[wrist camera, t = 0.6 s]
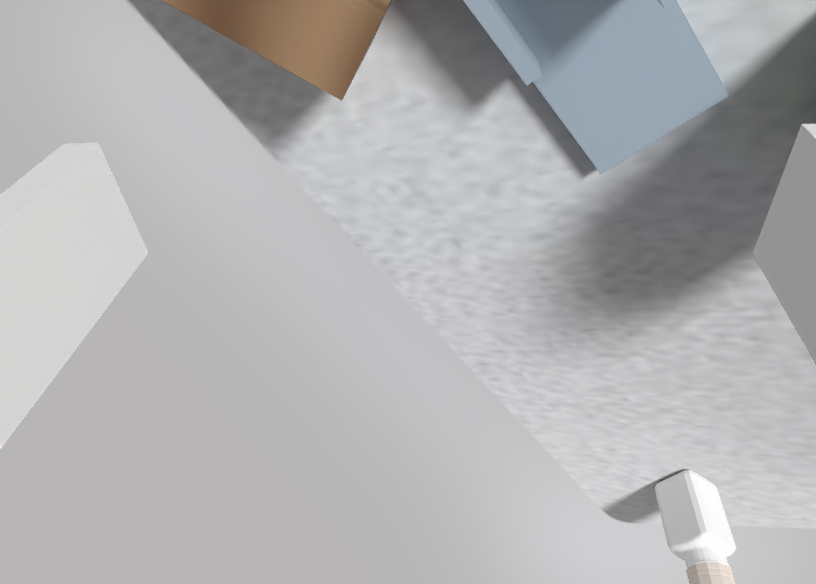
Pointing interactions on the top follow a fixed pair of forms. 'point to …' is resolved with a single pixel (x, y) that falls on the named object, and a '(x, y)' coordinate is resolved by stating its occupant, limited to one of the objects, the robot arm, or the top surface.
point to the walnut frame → (298, 33)
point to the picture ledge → (606, 67)
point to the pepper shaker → (696, 527)
